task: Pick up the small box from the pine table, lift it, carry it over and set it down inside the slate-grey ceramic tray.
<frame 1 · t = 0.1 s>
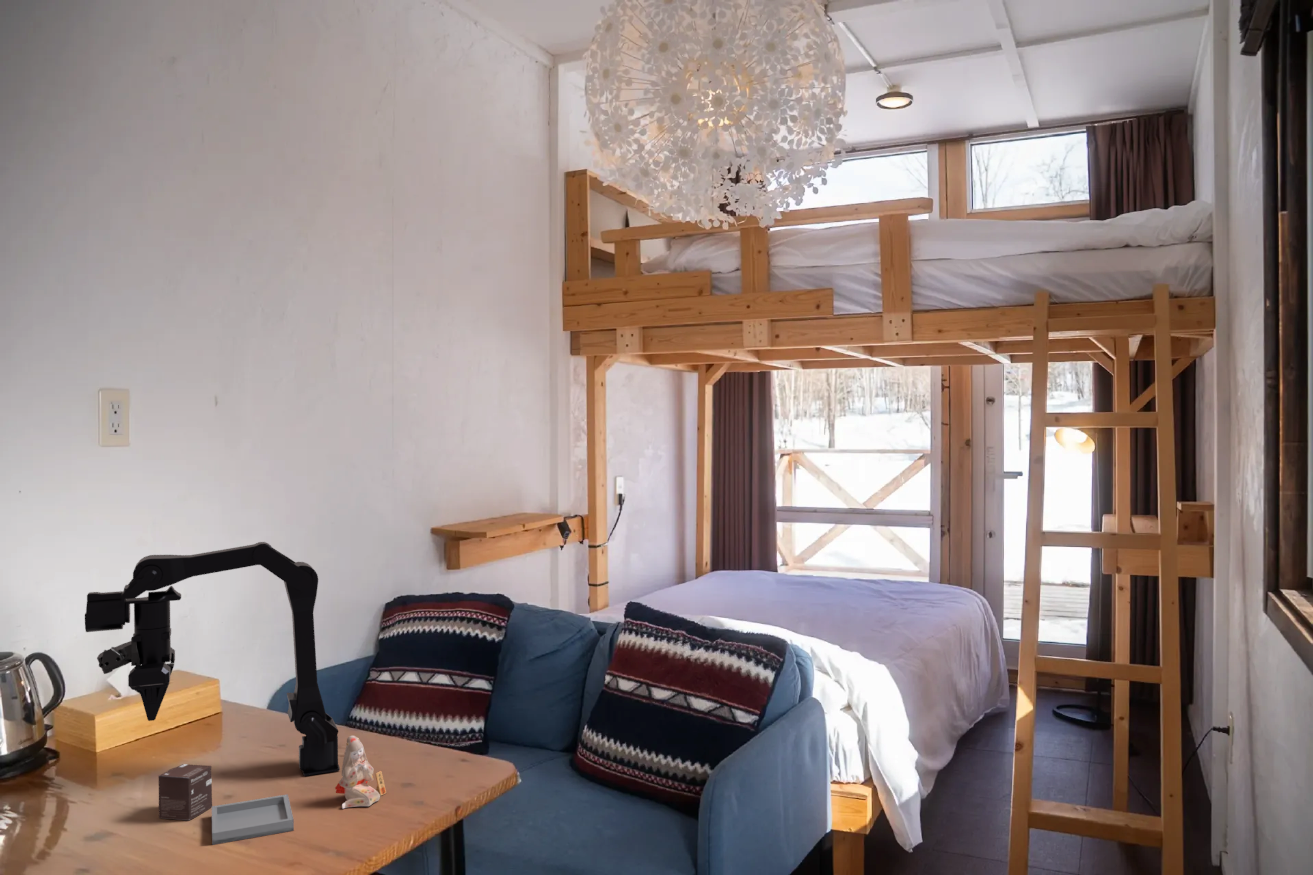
hand: (153, 713, 171), 15 cm above the table, fingers open, 9 cm apart
tray: (252, 823, 158), on the table
box: (185, 814, 162), on the table
figurine: (362, 801, 167), on the table
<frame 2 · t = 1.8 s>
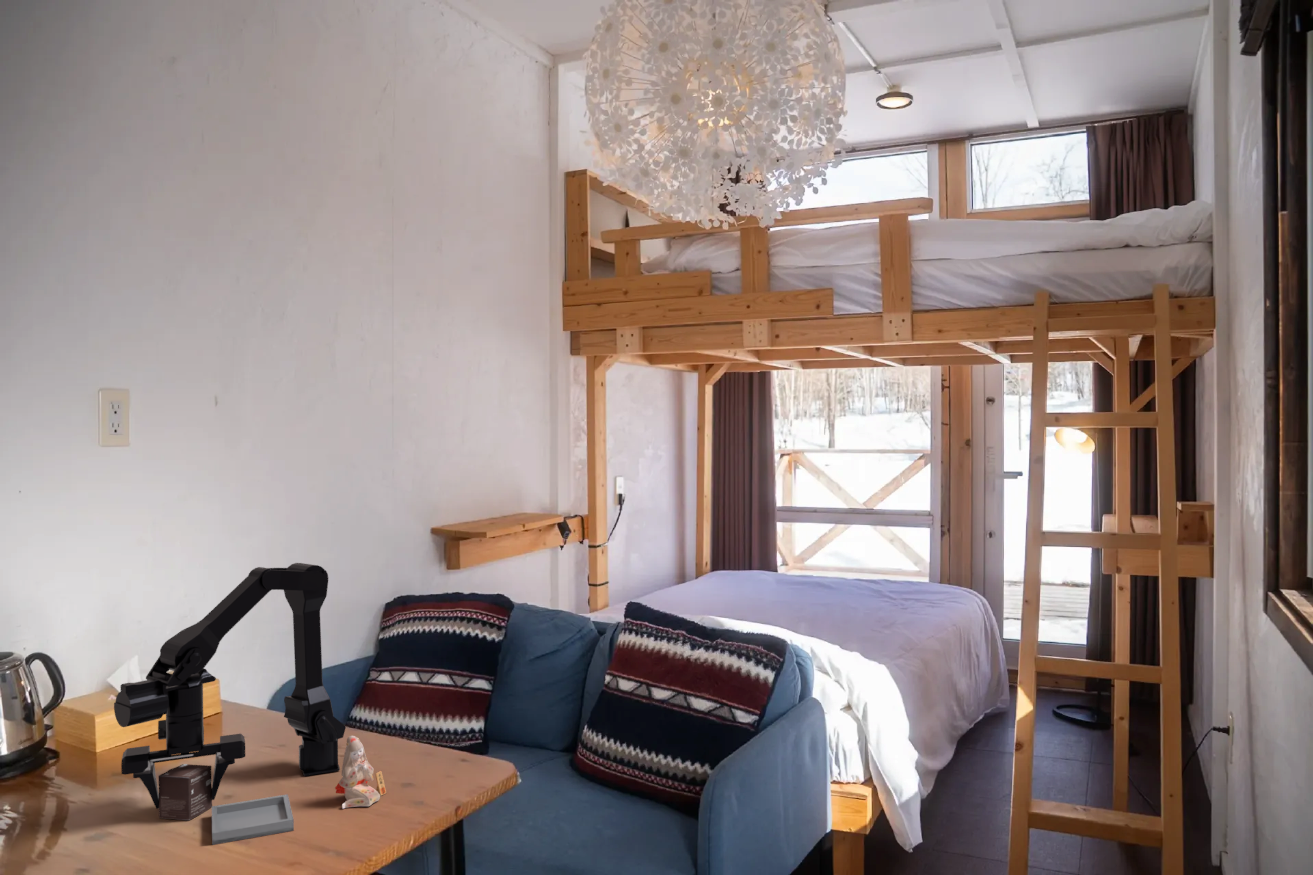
hand: (185, 803, 162), 2 cm above the table, fingers closed on box, 8 cm apart
box: (185, 814, 162), on the table, touching gripper
everything else where it was.
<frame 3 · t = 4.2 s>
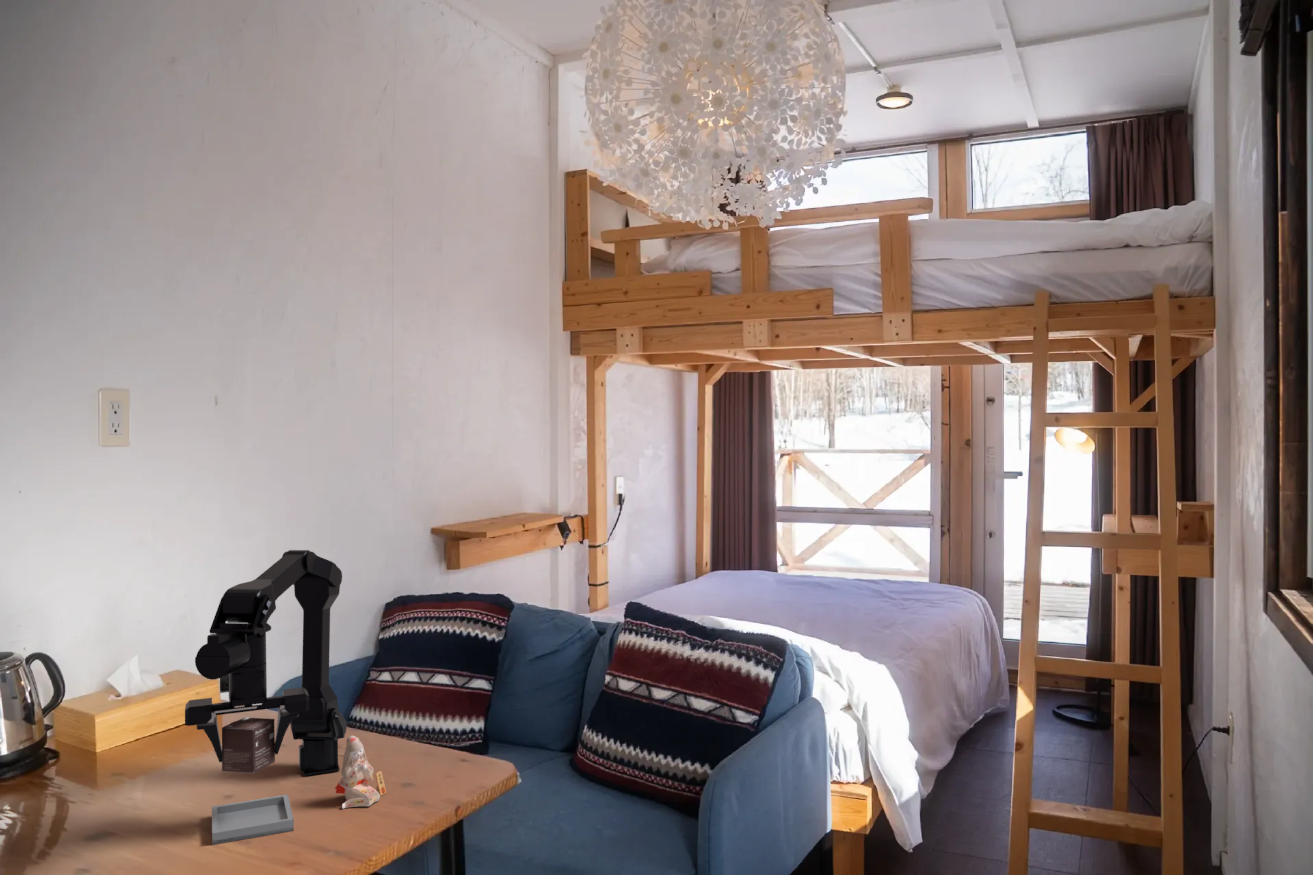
hand: (248, 757, 158), 11 cm above the table, fingers closed on box, 8 cm apart
box: (248, 768, 158), point 9 cm above the table, touching gripper
everything else where it was.
when the fingers open (3 cm above the table, at t = 6.2 s): box drops 1 cm, resting on tray.
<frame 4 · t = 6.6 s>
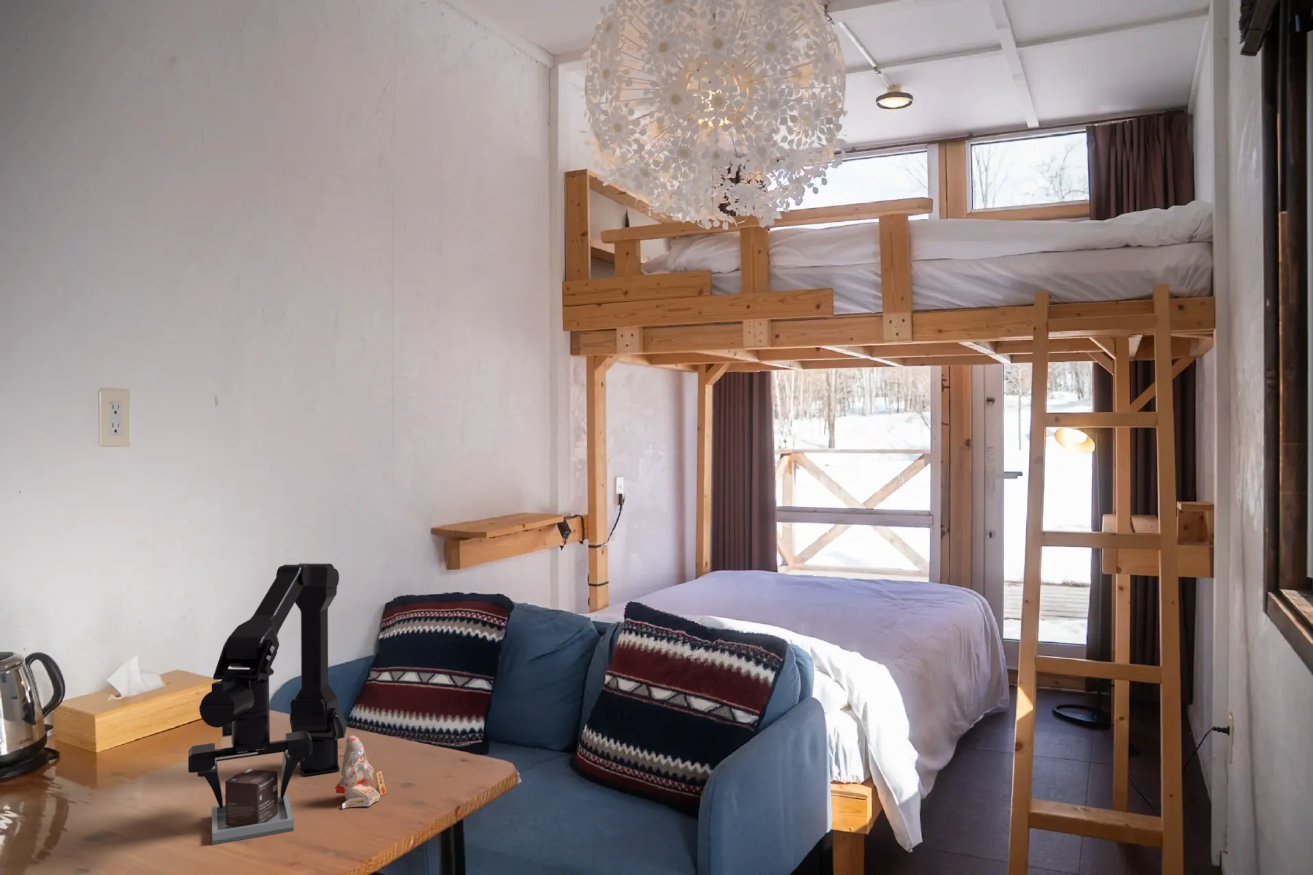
hand: (251, 802, 158), 3 cm above the table, fingers open, 9 cm apart
box: (252, 820, 158), resting on tray
everything else where it was.
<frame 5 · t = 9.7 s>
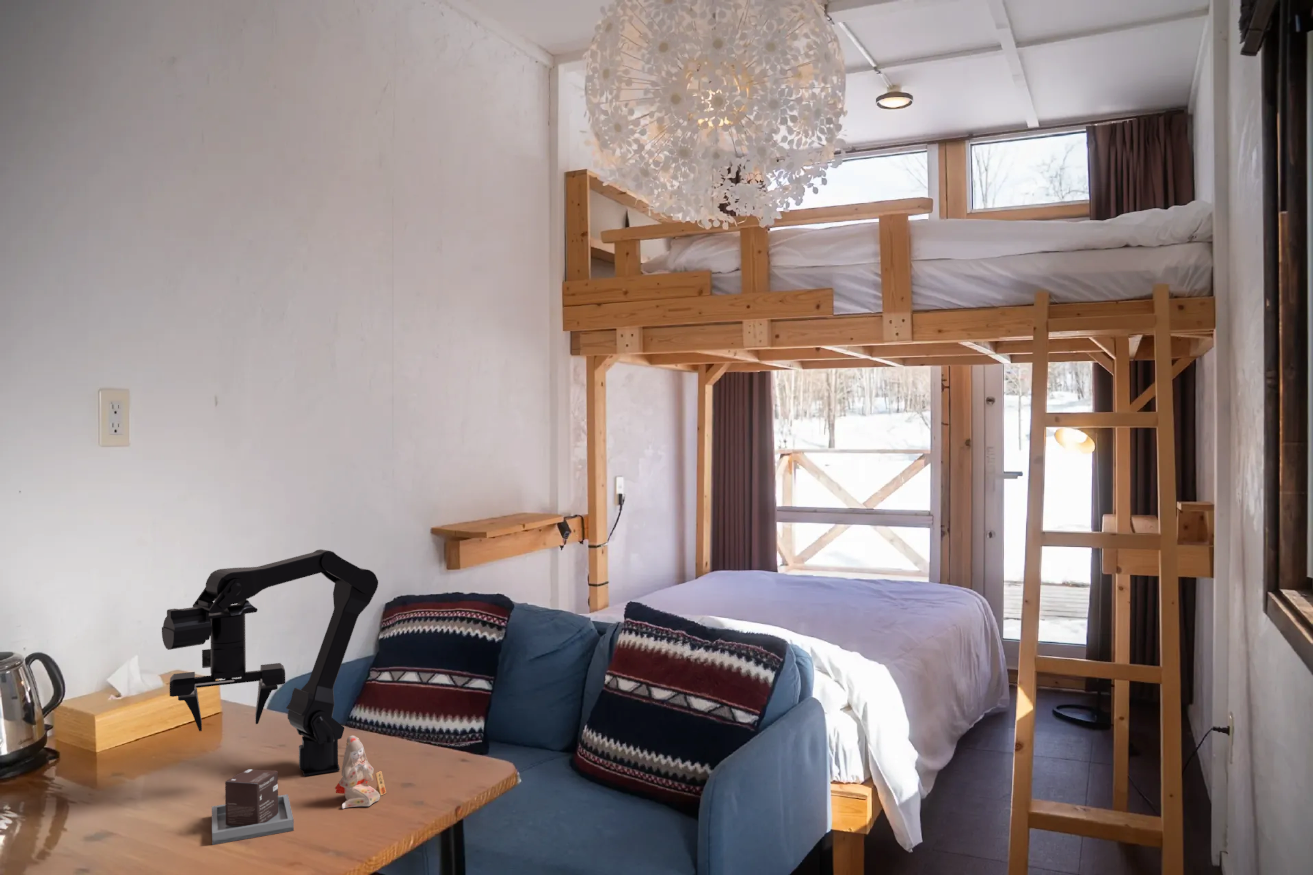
hand: (228, 726, 171), 12 cm above the table, fingers open, 9 cm apart
nothing on the table moved.
at the end: box inside the target area on the tray (0.0 cm from its centre), point 0.4 cm above the tray's base; box tilted 0°; the gripper is holding nothing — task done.
